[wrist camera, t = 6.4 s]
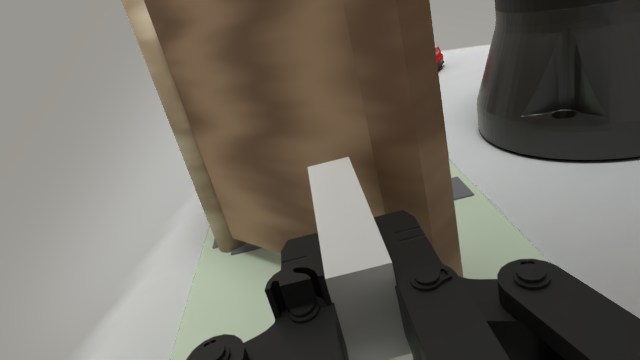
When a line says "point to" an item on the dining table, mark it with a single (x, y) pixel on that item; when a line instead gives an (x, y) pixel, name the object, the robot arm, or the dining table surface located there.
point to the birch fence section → (179, 122)
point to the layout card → (261, 264)
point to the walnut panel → (312, 108)
